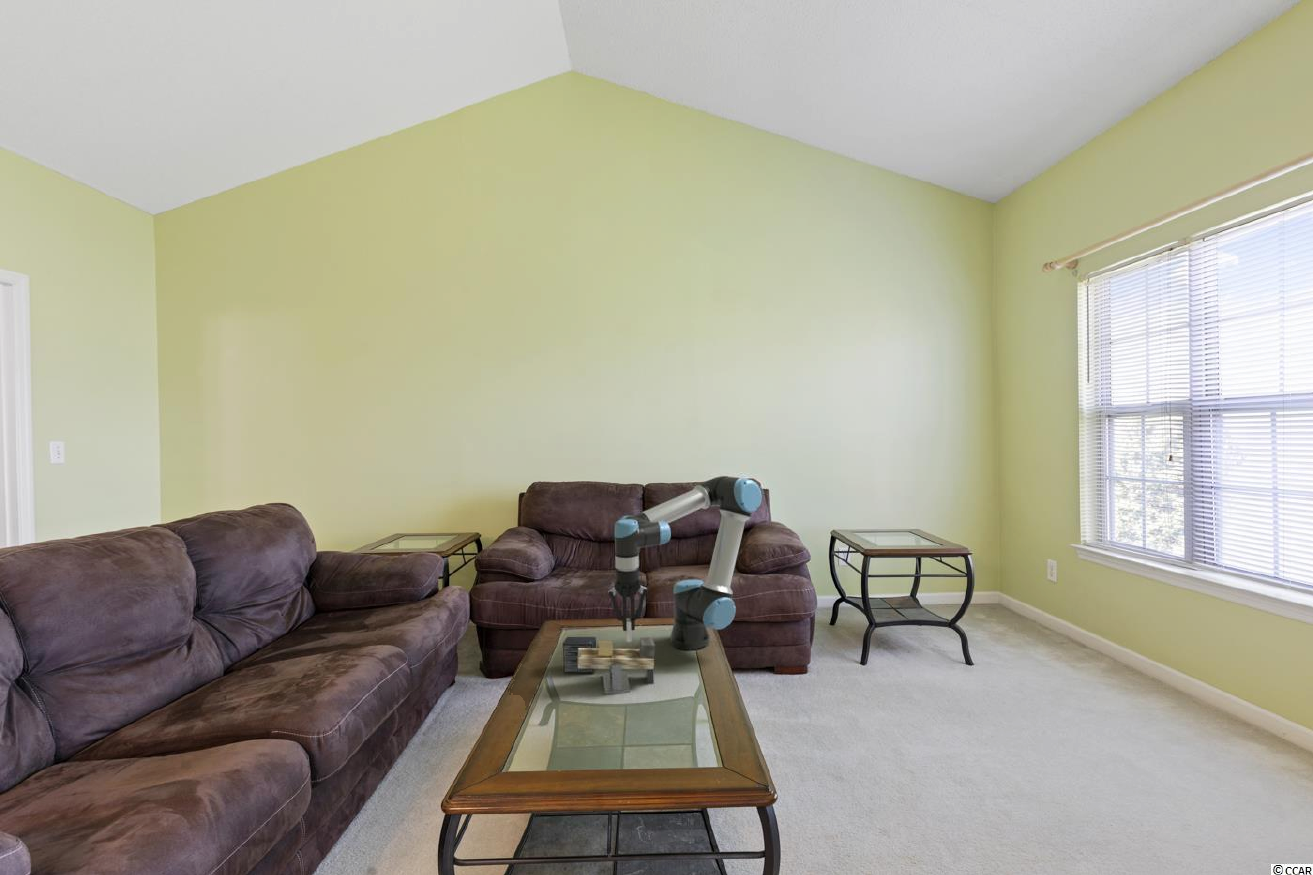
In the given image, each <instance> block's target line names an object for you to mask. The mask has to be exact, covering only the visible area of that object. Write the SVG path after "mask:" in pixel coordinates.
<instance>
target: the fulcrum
mask: <svg viewBox="0 0 1313 875" xmlns="http://www.w3.org/2000/svg"><path fill="white" fill-rule="evenodd" d="M615 649H619V648H618V647H617V648H615ZM622 670H623V669H622V667H621V663H618V664H612V669H609V672H606V673H602V675H601V676H602V682H603V689H604V690H603V691H604V695H605V696H606V695H616V694H623V693H624V694H625V693H630V692H631V686H630V683H629V677H628V674H627V670H626V671H622ZM644 670H645V679H646V680H645V681H646V683H647V685H652V684H654V683H655V682H654V676H655V675H654V668H653V669H644Z"/></svg>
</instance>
